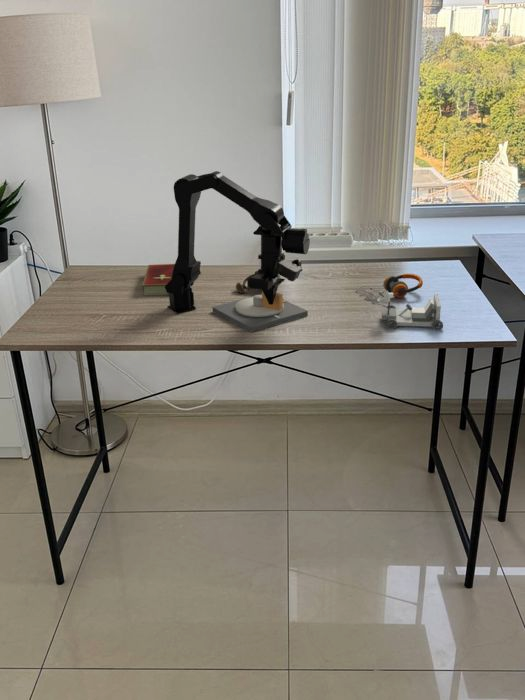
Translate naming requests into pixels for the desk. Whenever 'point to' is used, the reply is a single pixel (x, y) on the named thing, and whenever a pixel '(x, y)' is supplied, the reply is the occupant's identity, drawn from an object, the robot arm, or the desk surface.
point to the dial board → (259, 323)
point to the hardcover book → (157, 279)
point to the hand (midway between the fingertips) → (270, 304)
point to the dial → (260, 306)
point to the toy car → (411, 313)
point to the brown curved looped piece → (241, 288)
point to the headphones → (396, 286)
